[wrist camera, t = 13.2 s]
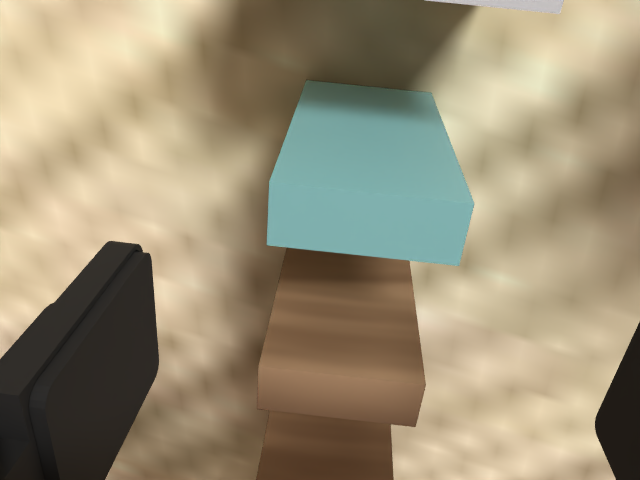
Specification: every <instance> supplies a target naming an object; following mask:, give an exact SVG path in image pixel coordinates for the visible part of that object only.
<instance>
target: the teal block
mask: <svg viewBox="0 0 640 480" xmlns="http://www.w3.org/2000/svg"><path fill="white" fill-rule="evenodd" d="M473 207H474V201H473V199H472V196H471V194H470V191H469V188H468V186H467V183H466V181H465V178H464V176H463V173H462V170H461V168H460V165H459V163H458V160H457V158H456V155H455V152H454V150H453V147H452V145H451V142H450V140H449V137H448V134H447V132H446V129H445V127H444V124H443V122H442V119H441V116H440V114H439V111H438V109H437V106H436V104H435V101H434V98H433V96H432V93H429V92H419V91H409V90H399V89H389V88H379V87H369V86H359V85H350V84H340V83H330V82H320V81H310V80H306V83H305V85H304V88H303V91H302V94H301V96H300V99H299V102H298V105H297V107H296V110H295V113H294V115H293V118H292V121H291V124H290V126H289V129H288V132H287V135H286V137H285V140H284V143H283V146H282V148H281V151H280V154H279V157H278V159H277V162H276V165H275V168H274V170H273V173H272V176H271V178H270V181H269V200H268V225H267V245H269V246H278V247H287V248H297V249H306V250H315V251H325V252H334V253H343V254H353V255H362V256H372V257H381V258H390V259H400V260H409V261H418V262H428V263H437V264H446V265H456V266H459V263H460V259H461V255H462V251H463V247H464V243H465V239H466V235H467V231H468V227H469V223H470V219H471V215H472V211H473Z"/></svg>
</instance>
